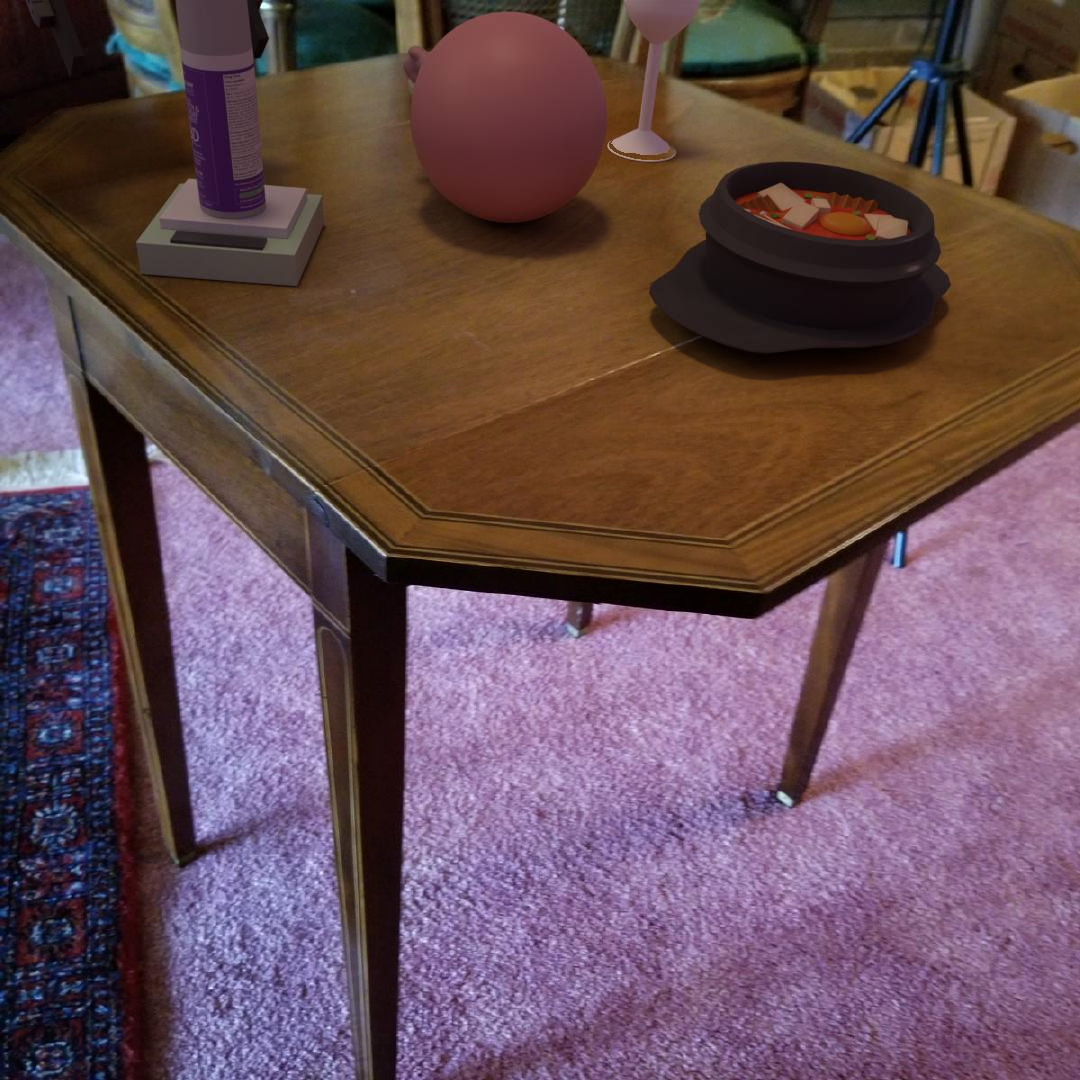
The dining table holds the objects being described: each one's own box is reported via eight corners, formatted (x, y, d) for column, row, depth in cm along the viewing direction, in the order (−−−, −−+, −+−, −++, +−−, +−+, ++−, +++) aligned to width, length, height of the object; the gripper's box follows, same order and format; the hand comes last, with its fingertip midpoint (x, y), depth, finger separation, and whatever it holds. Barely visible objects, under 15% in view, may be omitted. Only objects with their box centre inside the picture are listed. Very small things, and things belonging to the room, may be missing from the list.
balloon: (487, 152, 101) (496, -30, 91) (634, 229, 90) (661, 30, 80) (344, 181, 93) (337, -16, 83) (485, 271, 81) (496, 54, 72)
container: (186, 206, 79) (155, -22, 69) (234, 188, 82) (212, -31, 72) (231, 225, 77) (206, -7, 67) (279, 206, 80) (262, -18, 70)
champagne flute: (598, 137, 107) (630, -150, 91) (663, 136, 108) (704, -146, 93) (618, 162, 102) (654, -137, 86) (685, 161, 103) (733, -133, 88)
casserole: (777, 413, 69) (808, 292, 63) (590, 295, 80) (602, 183, 74) (1001, 320, 82) (1042, 212, 76) (813, 229, 92) (838, 130, 87)
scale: (140, 274, 77) (133, 231, 75) (183, 213, 85) (178, 173, 83) (296, 286, 77) (294, 244, 75) (324, 224, 86) (322, 184, 84)
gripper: (-128, -269, 69) (-8, 44, 70) (241, -252, 82) (342, 14, 82) (-120, -182, 76) (-10, 104, 76) (221, -179, 88) (314, 67, 88)
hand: (172, 58), depth 79 cm, fingers open, 13 cm apart
